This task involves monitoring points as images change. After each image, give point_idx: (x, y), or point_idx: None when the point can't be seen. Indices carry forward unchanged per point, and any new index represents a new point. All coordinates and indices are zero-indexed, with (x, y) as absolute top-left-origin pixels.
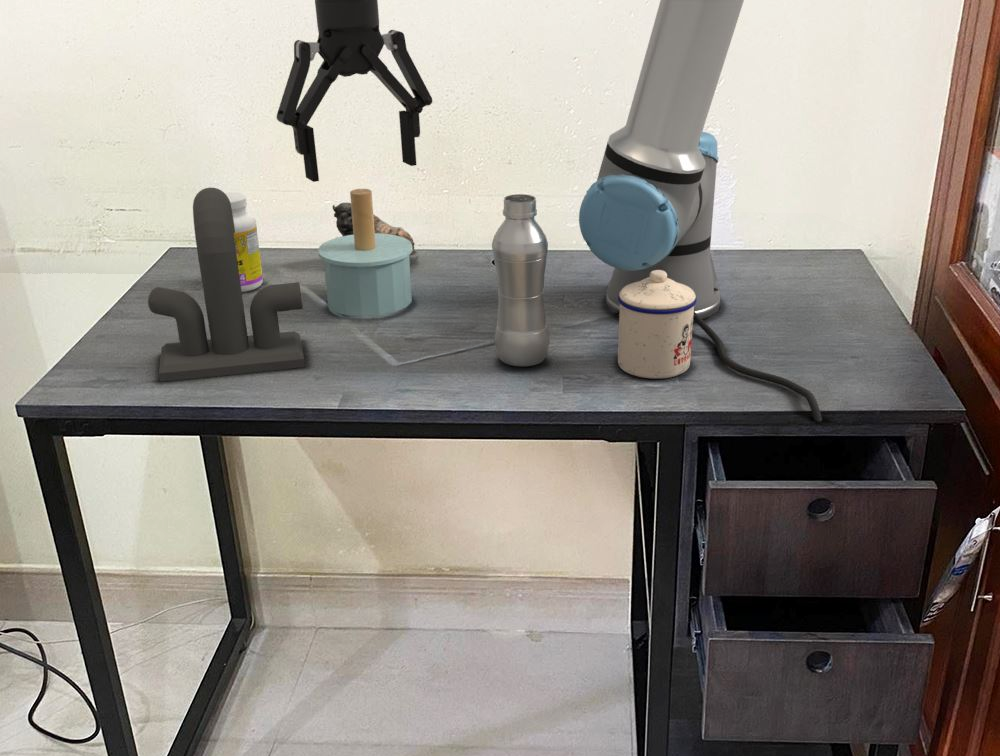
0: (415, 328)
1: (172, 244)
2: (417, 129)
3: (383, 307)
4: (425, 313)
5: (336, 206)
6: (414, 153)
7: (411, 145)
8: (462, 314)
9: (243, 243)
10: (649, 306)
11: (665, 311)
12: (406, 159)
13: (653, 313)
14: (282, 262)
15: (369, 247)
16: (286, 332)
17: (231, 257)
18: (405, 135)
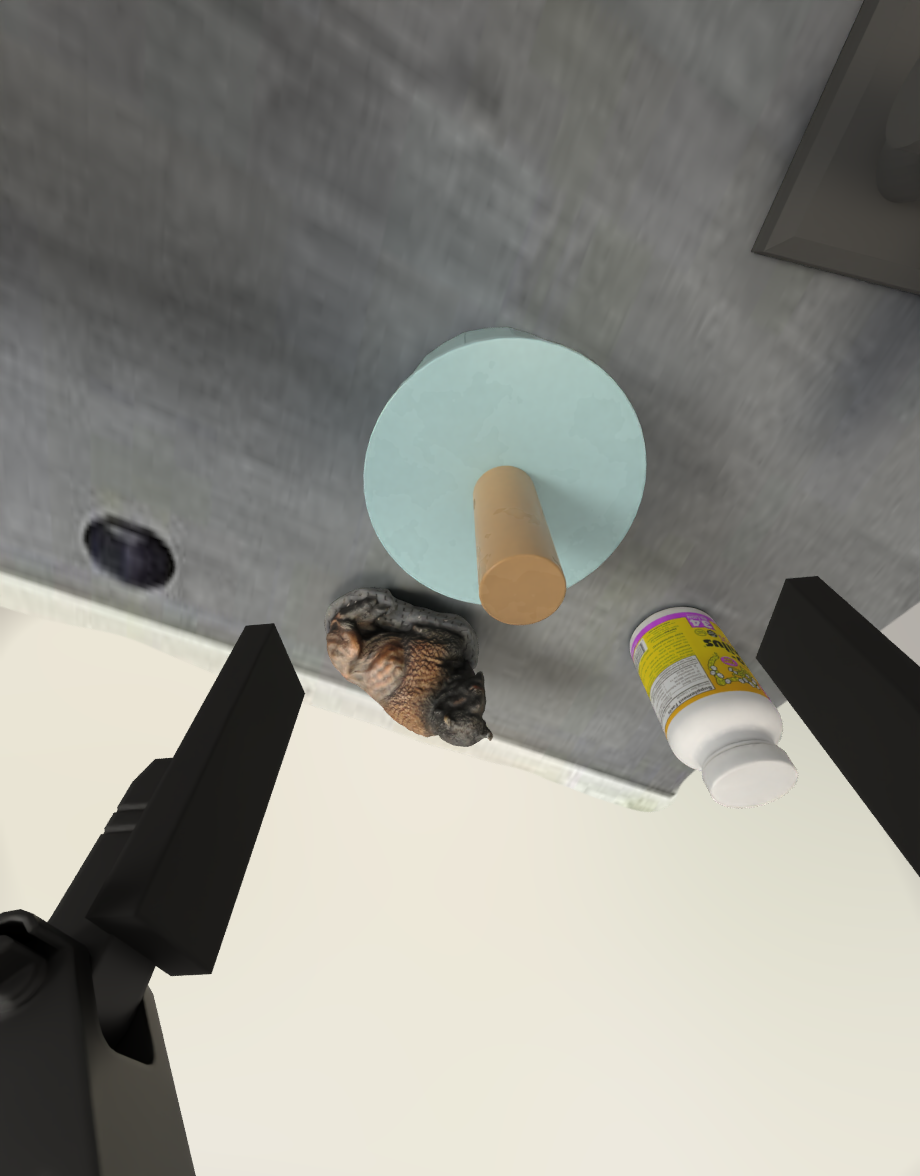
0: (442, 198)
1: (662, 805)
2: (138, 803)
3: (495, 330)
4: (384, 313)
5: (483, 737)
6: (229, 667)
7: (225, 703)
8: (289, 252)
9: (714, 672)
10: None
11: None
12: (284, 678)
13: None
14: (555, 702)
15: (502, 467)
16: (815, 237)
17: None
18: (237, 780)
